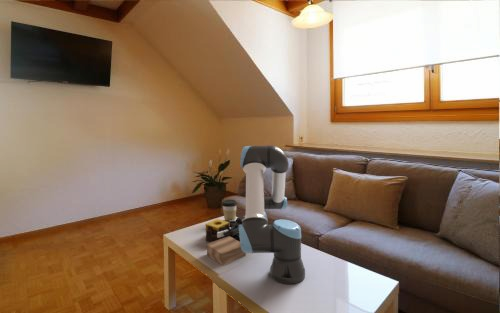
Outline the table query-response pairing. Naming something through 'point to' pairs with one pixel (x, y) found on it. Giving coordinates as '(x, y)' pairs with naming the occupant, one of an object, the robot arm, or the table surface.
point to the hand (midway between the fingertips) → (212, 231)
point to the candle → (216, 229)
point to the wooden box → (225, 250)
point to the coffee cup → (229, 209)
